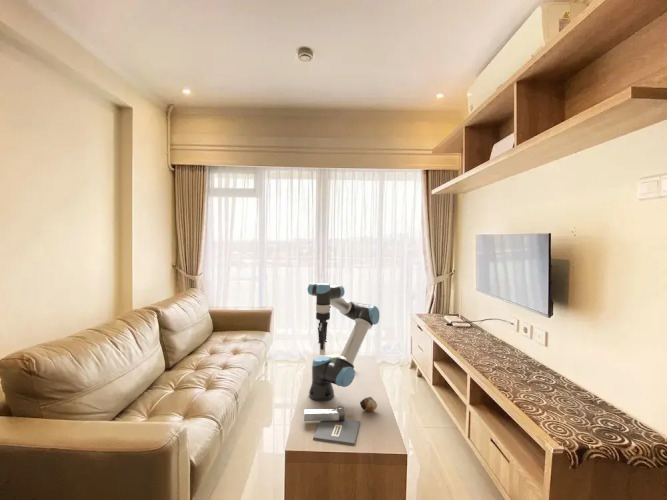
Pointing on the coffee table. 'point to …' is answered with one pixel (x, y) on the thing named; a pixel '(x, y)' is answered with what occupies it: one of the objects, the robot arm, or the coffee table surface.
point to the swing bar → (325, 414)
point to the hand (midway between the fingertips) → (322, 354)
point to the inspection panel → (338, 431)
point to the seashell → (368, 404)
